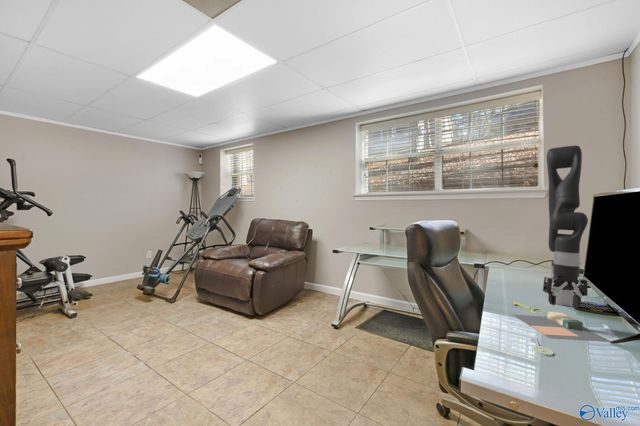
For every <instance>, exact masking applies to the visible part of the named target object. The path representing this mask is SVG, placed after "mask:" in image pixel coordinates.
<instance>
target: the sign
mask: <svg viewBox="0 0 640 426" xmlns="http://www.w3.org/2000/svg"><path fill="white" fill-rule="evenodd" d="M537 341H538V342H539V340H538V339H537V340H536V342H537ZM539 345H540V346H539ZM539 345H532V346H531V348H532V349H533V350H534V351H536V352H538V353H541V354H544V355H543V356H545V355H548V356H547V357H552V356H554V352H553V351H552V350H551V349H549V348H547V347H544V346H541V344H540V343H539ZM532 349H531V350H532ZM533 350H532V351H533ZM534 351H533V352H534ZM536 352H535V353H536ZM538 353H537V354H538ZM541 354H540V355H541Z"/></svg>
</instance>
